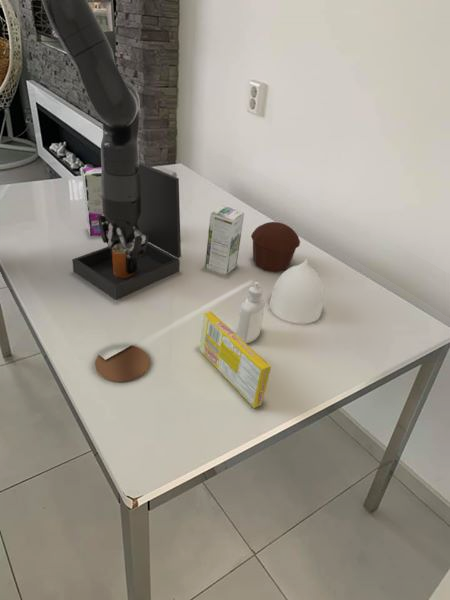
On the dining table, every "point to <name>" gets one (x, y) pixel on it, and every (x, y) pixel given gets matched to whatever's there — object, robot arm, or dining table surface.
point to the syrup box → (224, 239)
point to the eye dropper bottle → (251, 315)
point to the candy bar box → (93, 198)
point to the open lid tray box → (148, 272)
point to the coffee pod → (120, 261)
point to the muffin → (274, 246)
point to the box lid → (160, 208)
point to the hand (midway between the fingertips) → (123, 267)
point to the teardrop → (298, 295)
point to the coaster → (123, 365)
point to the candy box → (234, 359)
